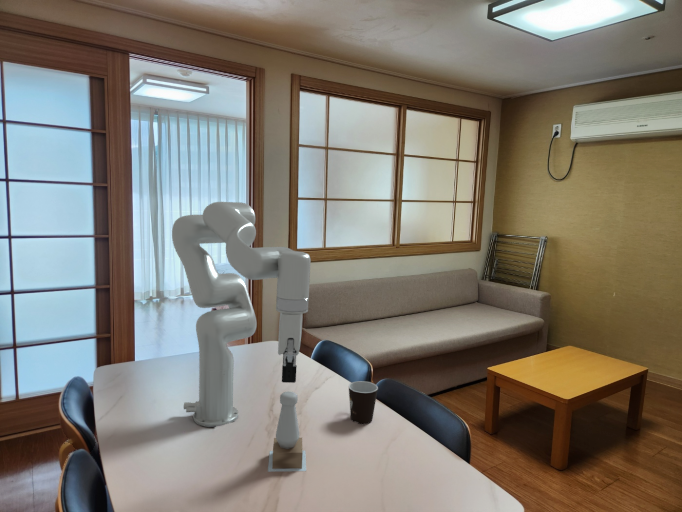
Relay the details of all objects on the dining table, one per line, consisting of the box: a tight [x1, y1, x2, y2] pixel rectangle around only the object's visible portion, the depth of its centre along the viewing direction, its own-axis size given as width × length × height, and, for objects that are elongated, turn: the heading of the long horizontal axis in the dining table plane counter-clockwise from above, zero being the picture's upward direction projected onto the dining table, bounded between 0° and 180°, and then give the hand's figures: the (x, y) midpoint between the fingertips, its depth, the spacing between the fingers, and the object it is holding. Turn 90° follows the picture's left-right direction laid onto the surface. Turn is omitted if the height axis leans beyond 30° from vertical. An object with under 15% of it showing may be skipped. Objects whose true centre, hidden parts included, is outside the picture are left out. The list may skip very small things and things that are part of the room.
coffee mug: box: [348, 380, 379, 425], centre depth 140 cm, size 12×9×10 cm
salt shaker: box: [275, 391, 300, 449], centre depth 113 cm, size 6×6×13 cm
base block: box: [272, 437, 304, 469], centre depth 114 cm, size 7×7×4 cm
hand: (288, 373), depth 112 cm, fingers open, 9 cm apart
